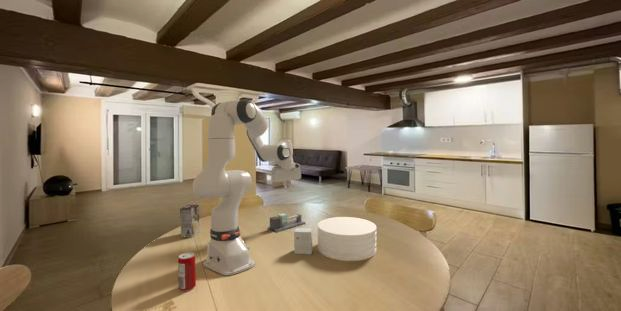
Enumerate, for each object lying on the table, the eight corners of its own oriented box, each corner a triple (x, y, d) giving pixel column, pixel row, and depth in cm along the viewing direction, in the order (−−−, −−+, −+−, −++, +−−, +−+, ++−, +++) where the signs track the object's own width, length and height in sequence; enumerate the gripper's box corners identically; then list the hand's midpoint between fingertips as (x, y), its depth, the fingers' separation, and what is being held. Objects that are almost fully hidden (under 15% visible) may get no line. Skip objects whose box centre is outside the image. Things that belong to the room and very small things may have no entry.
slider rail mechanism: (305, 223, 165) (305, 212, 165) (276, 232, 150) (276, 220, 149) (296, 220, 171) (295, 210, 171) (267, 228, 156) (267, 217, 156)
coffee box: (188, 232, 151) (188, 204, 150) (199, 232, 151) (199, 204, 150) (180, 237, 142) (179, 208, 141) (192, 237, 142) (191, 208, 141)
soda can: (198, 283, 96) (197, 251, 95) (192, 291, 90) (191, 257, 90) (182, 283, 96) (182, 251, 95) (175, 292, 90) (174, 258, 89)
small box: (312, 249, 125) (312, 228, 125) (311, 254, 120) (311, 232, 119) (296, 249, 126) (295, 227, 126) (294, 254, 121) (293, 231, 120)
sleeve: (287, 223, 158) (287, 214, 158) (282, 225, 155) (282, 215, 155) (282, 222, 161) (282, 213, 161) (277, 223, 158) (277, 214, 158)
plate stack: (377, 263, 111) (378, 237, 110) (312, 258, 116) (312, 233, 116) (375, 239, 138) (375, 218, 138) (322, 236, 144) (322, 215, 143)
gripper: (274, 166, 151) (275, 190, 151) (302, 164, 164) (303, 186, 164) (268, 166, 155) (269, 189, 156) (296, 164, 169) (296, 185, 169)
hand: (286, 188), depth 160 cm, fingers closed
